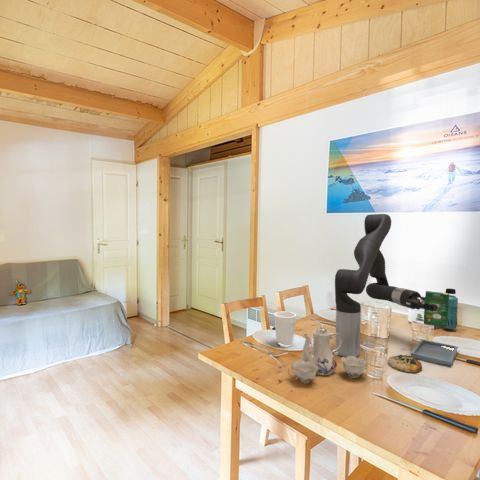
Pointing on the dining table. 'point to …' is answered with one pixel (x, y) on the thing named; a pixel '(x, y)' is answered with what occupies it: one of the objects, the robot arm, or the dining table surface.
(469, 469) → the dining table surface
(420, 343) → the dish
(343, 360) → the chinaware
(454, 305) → the beverage bottle
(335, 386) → the dining table surface
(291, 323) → the foam cup
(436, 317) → the coffee box
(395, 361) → the bread roll
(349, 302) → the robot arm
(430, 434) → the dining table surface
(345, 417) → the dining table surface
